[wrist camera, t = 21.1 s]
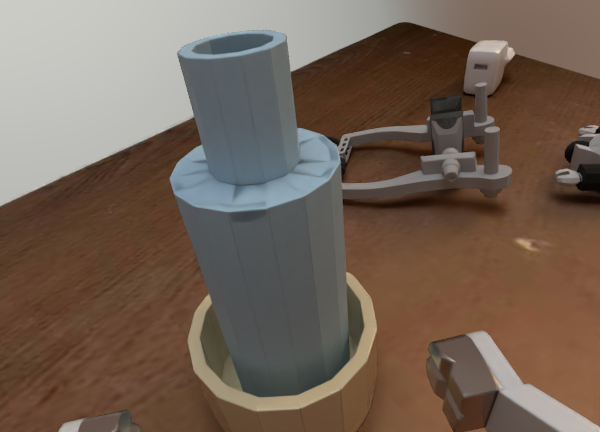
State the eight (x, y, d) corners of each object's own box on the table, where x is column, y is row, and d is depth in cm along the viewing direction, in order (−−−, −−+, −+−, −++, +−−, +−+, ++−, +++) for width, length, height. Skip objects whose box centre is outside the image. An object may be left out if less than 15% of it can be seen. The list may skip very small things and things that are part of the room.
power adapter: (479, 70, 60) (486, 28, 56) (514, 72, 57) (523, 29, 54) (456, 94, 53) (463, 49, 49) (495, 99, 50) (504, 51, 47)
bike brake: (494, 135, 40) (311, 155, 47) (496, 69, 36) (296, 102, 44) (514, 216, 30) (276, 225, 37) (519, 135, 26) (254, 163, 33)
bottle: (235, 428, 19) (93, 85, 9) (247, 328, 24) (161, 32, 14) (356, 421, 19) (343, 58, 9) (344, 321, 24) (326, 13, 14)
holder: (198, 469, 19) (166, 416, 16) (226, 317, 26) (208, 262, 23) (388, 459, 18) (392, 403, 15) (362, 308, 25) (362, 250, 22)
